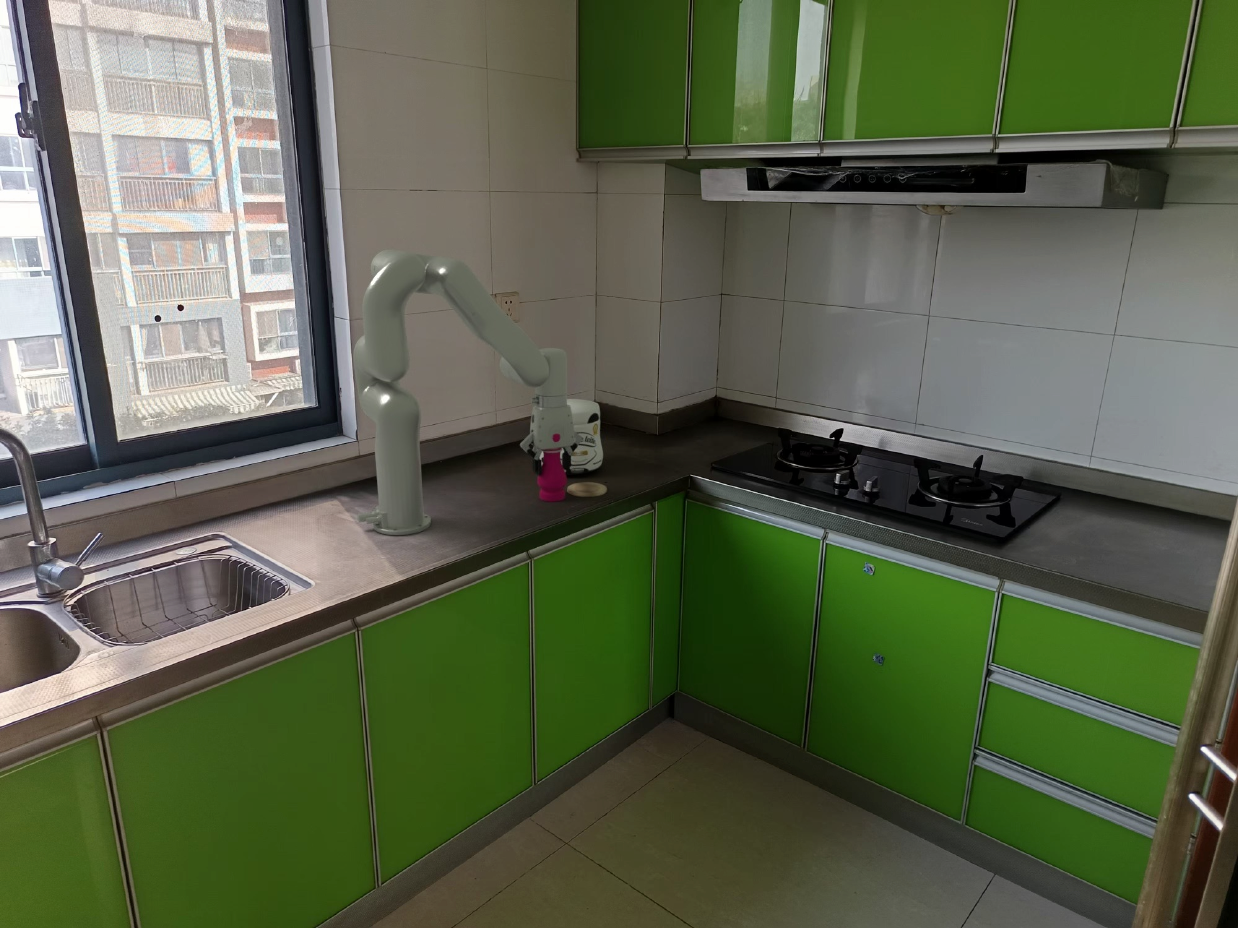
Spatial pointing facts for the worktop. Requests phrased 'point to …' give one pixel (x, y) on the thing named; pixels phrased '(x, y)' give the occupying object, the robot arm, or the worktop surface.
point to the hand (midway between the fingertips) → (552, 471)
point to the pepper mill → (552, 475)
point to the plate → (587, 489)
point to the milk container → (585, 437)
